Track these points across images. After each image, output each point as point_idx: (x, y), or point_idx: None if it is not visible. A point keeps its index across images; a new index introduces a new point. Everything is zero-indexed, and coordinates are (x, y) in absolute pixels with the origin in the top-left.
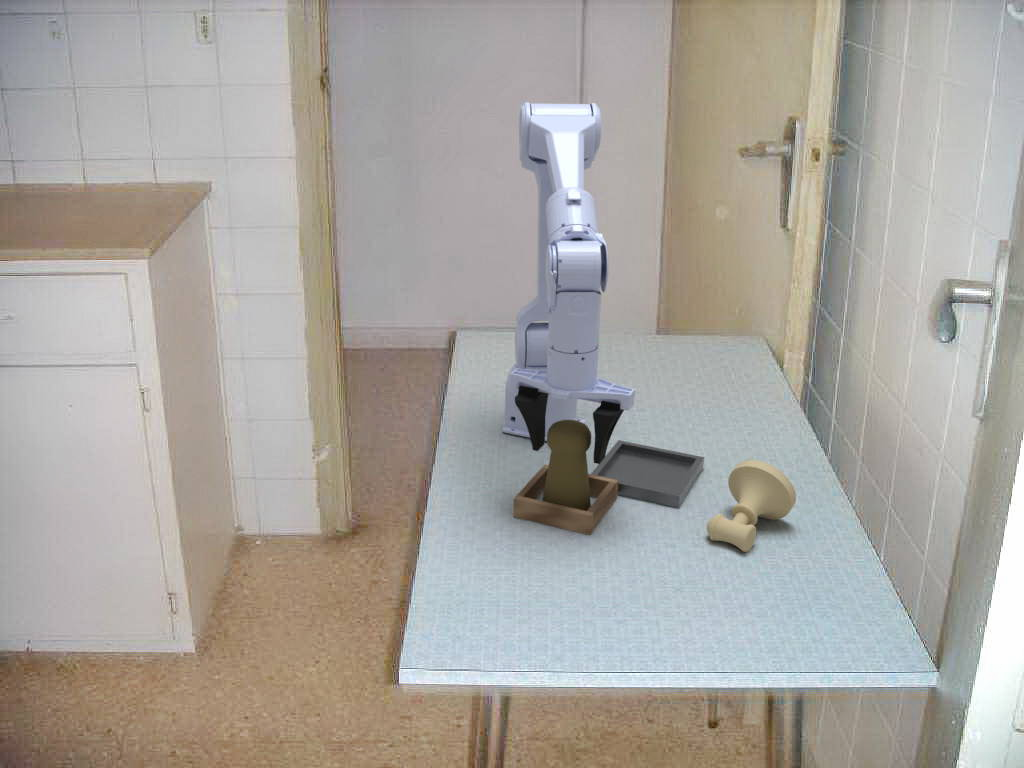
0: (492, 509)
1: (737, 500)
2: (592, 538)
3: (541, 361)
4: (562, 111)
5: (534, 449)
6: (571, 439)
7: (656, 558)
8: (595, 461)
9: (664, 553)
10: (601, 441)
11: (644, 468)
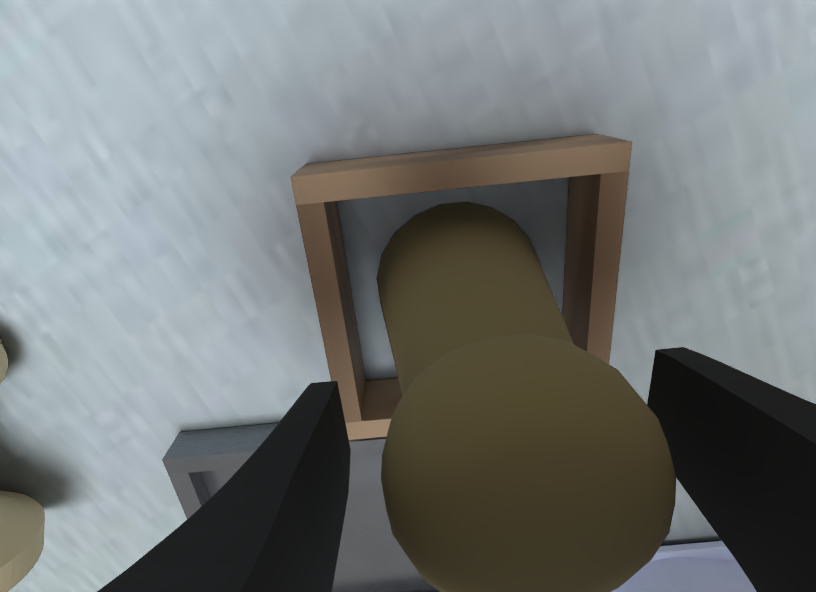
0: (683, 144)
1: (32, 512)
2: (289, 148)
3: None
4: None
5: (678, 350)
6: (464, 418)
7: (41, 142)
8: (324, 385)
9: (44, 187)
10: (242, 477)
11: (349, 541)
